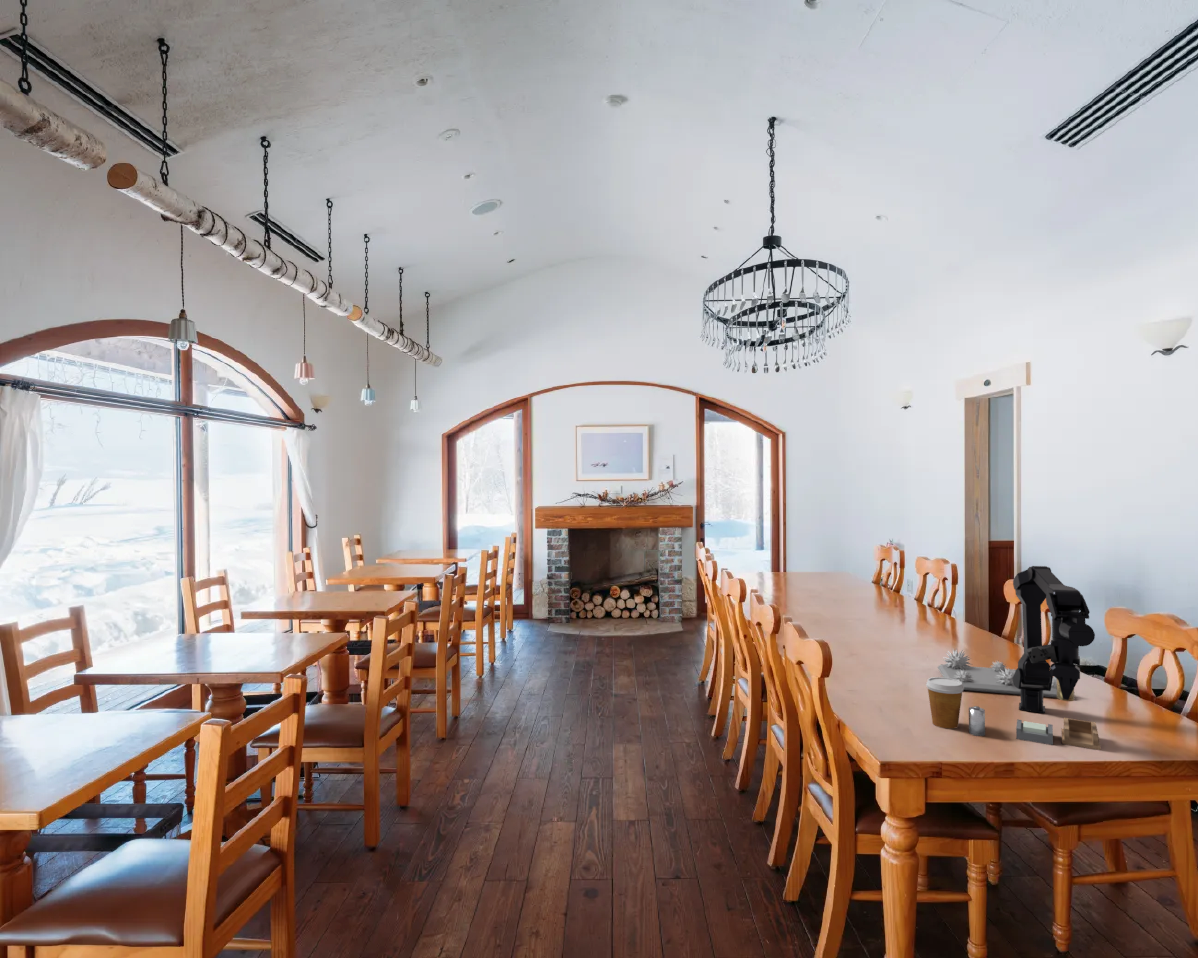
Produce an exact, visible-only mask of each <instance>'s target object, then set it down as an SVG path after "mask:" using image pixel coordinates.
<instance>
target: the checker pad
mask: <svg viewBox="0 0 1198 958" xmlns="http://www.w3.org/2000/svg"><path fill="white" fill-rule="evenodd" d="M1022 723H1023V731H1029V732H1036V733H1042V734H1046V727H1047V725H1046V723H1045V724H1044V723H1037V722H1032V721H1025V720H1024V721H1023V722H1022Z"/></svg>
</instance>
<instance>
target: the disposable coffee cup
mask: <svg viewBox="0 0 1198 958" xmlns="http://www.w3.org/2000/svg"><path fill="white" fill-rule="evenodd" d="M926 681H927V682H925V686H926V688H927V693H928V699H929V701H928V702H929V706H930V713H931V714H930V715H931V720H932V724H933V725H934V726H936V727H938V728H943V729H950V730H951V729H956V728H958V727H959V720H960V714H961V713H960V712H961V706H962V704H961V703H962V697H963V692H964V691H965V690H964V687H963V685H962V682H960V681H958V680H955V679H951V678H944V677H943V676H935V677H934V676H933V677H929V678H927V680H926Z"/></svg>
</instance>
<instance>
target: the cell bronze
mask: <svg viewBox="0 0 1198 958" xmlns="http://www.w3.org/2000/svg"><path fill="white" fill-rule="evenodd" d="M1056 699H1057V700H1060V701H1063V702H1074V701H1075V688H1074V689H1073V691H1072V693H1071V695H1070V698H1069V700H1064V699H1063V696H1062V692H1061V688H1060V684H1059V681H1058V679H1057V698H1056Z"/></svg>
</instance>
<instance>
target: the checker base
mask: <svg viewBox="0 0 1198 958" xmlns="http://www.w3.org/2000/svg"><path fill="white" fill-rule="evenodd" d="M1022 721H1023V720H1022V719H1019V718H1018V719H1017V720H1016V728H1015V729H1016V730H1015V731H1016V732H1015V733H1016V736H1015V737H1016V739H1017V740H1020V741H1026V742H1033V743H1040V744H1046V745H1051V746H1054V737H1053V736H1054V730H1053V729H1054V727H1053V726H1054V725H1053V724H1051V723H1047V726H1046V734H1042V733H1036V732H1029V731H1023V723H1024V722H1022Z"/></svg>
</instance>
